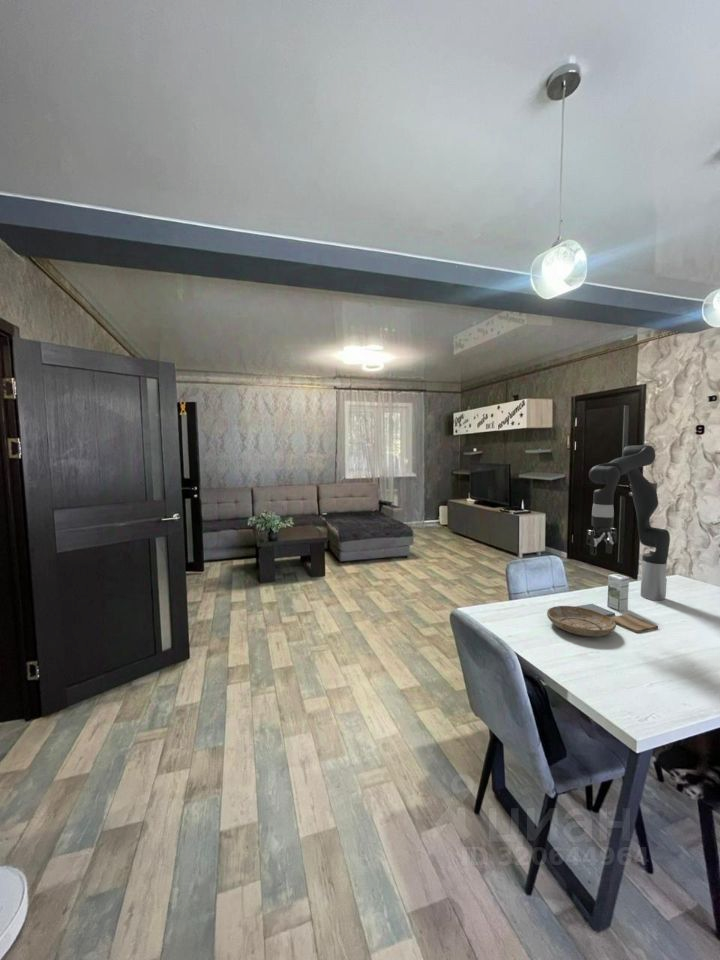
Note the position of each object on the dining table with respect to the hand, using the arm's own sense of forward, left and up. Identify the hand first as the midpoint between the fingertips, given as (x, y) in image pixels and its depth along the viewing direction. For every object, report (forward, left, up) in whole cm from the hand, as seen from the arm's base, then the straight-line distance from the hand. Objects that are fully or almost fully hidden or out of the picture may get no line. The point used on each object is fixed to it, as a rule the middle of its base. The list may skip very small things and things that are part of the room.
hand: (600, 554), depth 160 cm
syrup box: (-18, -5, -27) cm, 33 cm away
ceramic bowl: (+15, +5, -28) cm, 32 cm away
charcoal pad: (-4, -5, -27) cm, 28 cm away
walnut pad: (-8, +9, -27) cm, 29 cm away
